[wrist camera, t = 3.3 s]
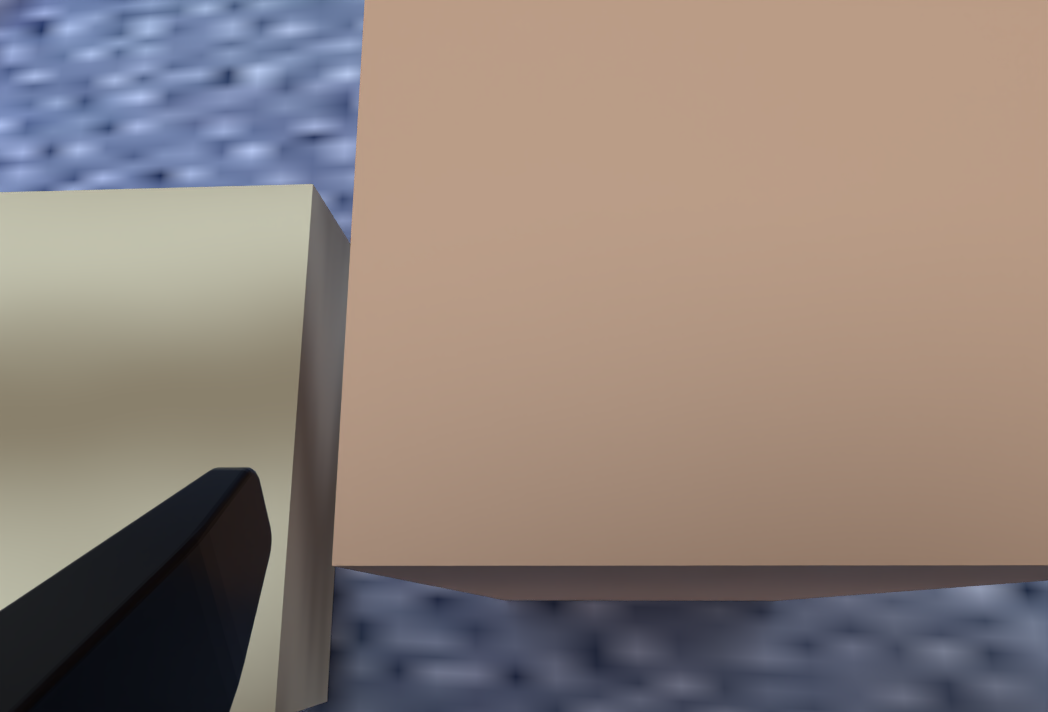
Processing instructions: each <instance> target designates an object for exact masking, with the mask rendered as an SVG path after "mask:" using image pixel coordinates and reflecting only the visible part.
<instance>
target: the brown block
mask: <svg viewBox="0 0 1048 712" xmlns="http://www.w3.org/2000/svg"><path fill="white" fill-rule="evenodd" d="M332 566H335V567H340V568H345V569H351V570H356V571H361V572H366V573H371V574H376V575H381V576H386V577H391V578H396V579H401V580H406V581H411V582H416V583H421V584H426V585H431V586H436V587H441V588H446V589H451V590H456V591H461V592H466V593H471V594H476V595H481V596H486V597H491V598H496V599H501V600H591V601H779V600H792V599H805V598H819V597H832V596H846V595H859V594H872V593H886V592H899V591H913V590H926V589H939V588H953V587H966V586H979V585H993V584H1006V583H1020V582H1033V581H1046V580H1048V0H365V6H364V23H363V40H362V57H361V74H360V92H359V109H358V126H357V143H356V160H355V177H354V194H353V211H352V229H351V246H350V263H349V280H348V297H347V314H346V331H345V348H344V366H343V383H342V400H341V417H340V434H339V451H338V468H337V485H336V503H335V520H334V537H333V554H332Z"/></svg>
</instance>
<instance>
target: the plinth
mask: <svg viewBox="0 0 1048 712" xmlns="http://www.w3.org/2000/svg"><path fill="white" fill-rule="evenodd" d="M350 246H351V244H350V243H349V241H348V239H347V238H346V236H345V235H344V233H343V231H342V230H341V228H340V227H339V225H338V223H337V222H336V220H335V219H334V217H333V215H332V214H331V212H330V211H329V209H328V207H327V206H326V204H325V203H324V201H323V199H322V198H321V196H320V195H319V193H318V192H317V190H316V188H315V187H314V185H313V184H303V185H265V186H227V187H189V188H151V189H113V190H75V191H37V192H0V610H2V609H3V608H5V607H6V606H8V605H9V604H11V603H12V602H14V601H15V600H17V599H18V598H20V597H21V596H23V595H24V594H26V593H27V592H29V591H30V590H32V589H33V588H35V587H36V586H38V585H39V584H41V583H42V582H44V581H45V580H47V579H48V578H50V577H51V576H53V575H54V574H56V573H57V572H59V571H60V570H62V569H63V568H65V567H66V566H68V565H69V564H71V563H72V562H74V561H75V560H77V559H78V558H80V557H81V556H83V555H84V554H86V553H87V552H88V551H90V550H91V549H93V548H94V547H96V546H97V545H99V544H100V543H102V542H103V541H105V540H106V539H108V538H109V537H111V536H112V535H114V534H115V533H117V532H118V531H120V530H121V529H123V528H124V527H126V526H127V525H129V524H130V523H132V522H133V521H135V520H136V519H138V518H139V517H141V516H142V515H144V514H145V513H147V512H148V511H150V510H151V509H153V508H154V507H156V506H157V505H159V504H160V503H162V502H163V501H165V500H166V499H168V498H169V497H171V496H172V495H174V494H175V493H177V492H178V491H180V490H181V489H183V488H184V487H186V486H187V485H188V484H190V483H191V482H193V481H194V480H196V479H197V478H199V477H200V476H202V475H203V474H205V473H206V472H208V471H210V470H211V469H213V468H217V467H250V468H251V469H253V470H254V471H256V473H257V475H258V477H259V479H260V483H261V487H262V492H263V496H264V501H265V505H266V509H267V514H268V518H269V522H270V527H271V534H272V545H271V553H270V557H269V562H268V566H267V570H266V574H265V578H264V583H263V587H262V591H261V595H260V599H259V604H258V608H257V612H256V616H255V621H254V625H253V629H252V633H251V637H250V642H249V646H248V650H247V654H246V658H245V663H244V666H243V670H242V674H241V678H240V682H239V685H238V688H237V691H236V694H235V697H234V700H233V703H232V706H231V709H230V712H298V711H301V710H304V709H307V708H310V707H313V706H316V705H318V704H321V703H324V702H327V696H328V678H329V661H330V643H331V626H332V608H333V591H334V574H335V566H332V554H333V537H334V520H335V503H336V485H337V468H338V451H339V434H340V417H341V400H342V383H343V366H344V348H345V331H346V314H347V297H348V280H349V263H350Z"/></svg>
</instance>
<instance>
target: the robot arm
mask: <svg viewBox="0 0 1048 712" xmlns="http://www.w3.org/2000/svg"><path fill="white" fill-rule="evenodd" d="M271 545H272V534H271V527H270V522H269V518H268V514H267V509H266V505H265V501H264V496H263V492H262V487H261V483H260V479H259V477H258V475H257V473H256V471H254V470H253V469H251V468H250V467H217V468H213V469H211V470H210V471H208V472H206V473H205V474H203V475H202V476H200V477H199V478H197V479H196V480H194V481H193V482H191V483H190V484H188V485H187V486H186V487H184V488H183V489H181V490H180V491H178V492H177V493H175V494H174V495H172V496H171V497H169V498H168V499H166V500H165V501H163V502H162V503H160V504H159V505H157V506H156V507H154V508H153V509H151V510H150V511H148V512H147V513H145V514H144V515H142V516H141V517H139V518H138V519H136V520H135V521H133V522H132V523H130V524H129V525H127V526H126V527H124V528H123V529H121V530H120V531H118V532H117V533H115V534H114V535H112V536H111V537H109V538H108V539H106V540H105V541H103V542H102V543H100V544H99V545H97V546H96V547H94V548H93V549H91V550H90V551H88V552H87V553H86V554H84V555H83V556H81V557H80V558H78V559H77V560H75V561H74V562H72V563H71V564H69V565H68V566H66V567H65V568H63V569H62V570H60V571H59V572H57V573H56V574H54V575H53V576H51V577H50V578H48V579H47V580H45V581H44V582H42V583H41V584H39V585H38V586H36V587H35V588H33V589H32V590H30V591H29V592H27V593H26V594H24V595H23V596H21V597H20V598H18V599H17V600H15V601H14V602H12V603H11V604H9V605H8V606H6V607H5V608H3V609H2V610H0V712H230V709H231V706H232V703H233V700H234V697H235V694H236V691H237V688H238V685H239V682H240V678H241V674H242V670H243V666H244V663H245V658H246V654H247V650H248V646H249V642H250V637H251V633H252V629H253V625H254V621H255V616H256V612H257V608H258V604H259V599H260V595H261V591H262V587H263V583H264V578H265V574H266V570H267V566H268V562H269V557H270V553H271Z"/></svg>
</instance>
